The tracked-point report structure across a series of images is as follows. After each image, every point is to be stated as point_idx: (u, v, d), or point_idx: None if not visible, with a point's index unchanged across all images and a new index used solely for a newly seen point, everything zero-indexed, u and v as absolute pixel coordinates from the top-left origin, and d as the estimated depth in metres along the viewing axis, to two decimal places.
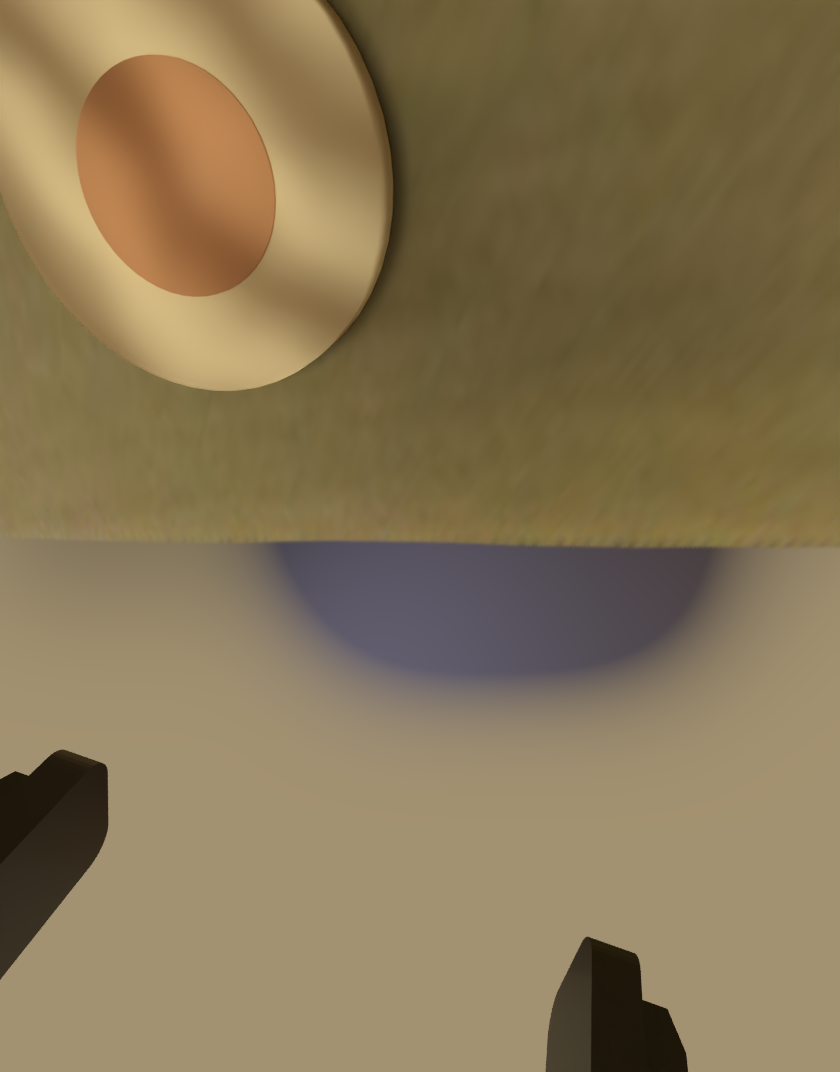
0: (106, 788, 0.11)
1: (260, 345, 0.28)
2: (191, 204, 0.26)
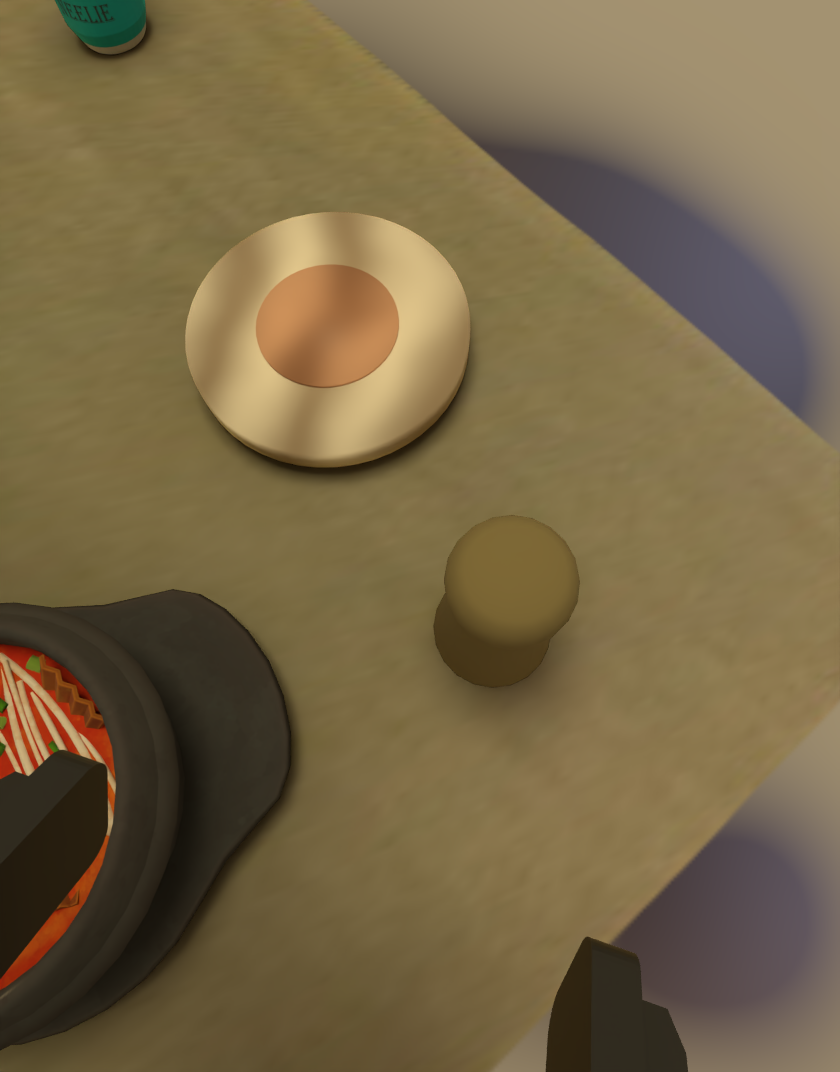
0: (107, 788, 0.11)
1: (391, 247, 0.40)
2: (331, 309, 0.38)
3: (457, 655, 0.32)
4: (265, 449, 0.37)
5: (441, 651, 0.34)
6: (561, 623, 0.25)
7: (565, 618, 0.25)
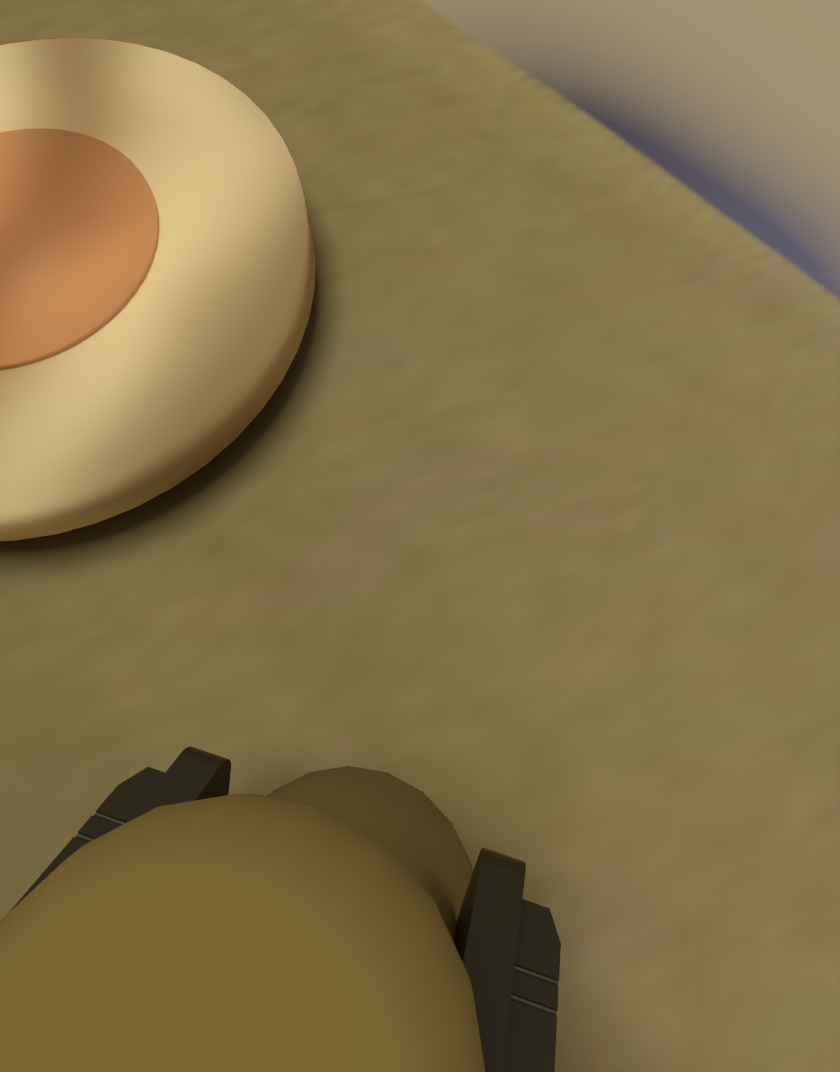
0: (228, 783, 0.12)
1: (161, 95, 0.20)
2: (19, 213, 0.19)
3: None
4: None
5: None
6: None
7: None
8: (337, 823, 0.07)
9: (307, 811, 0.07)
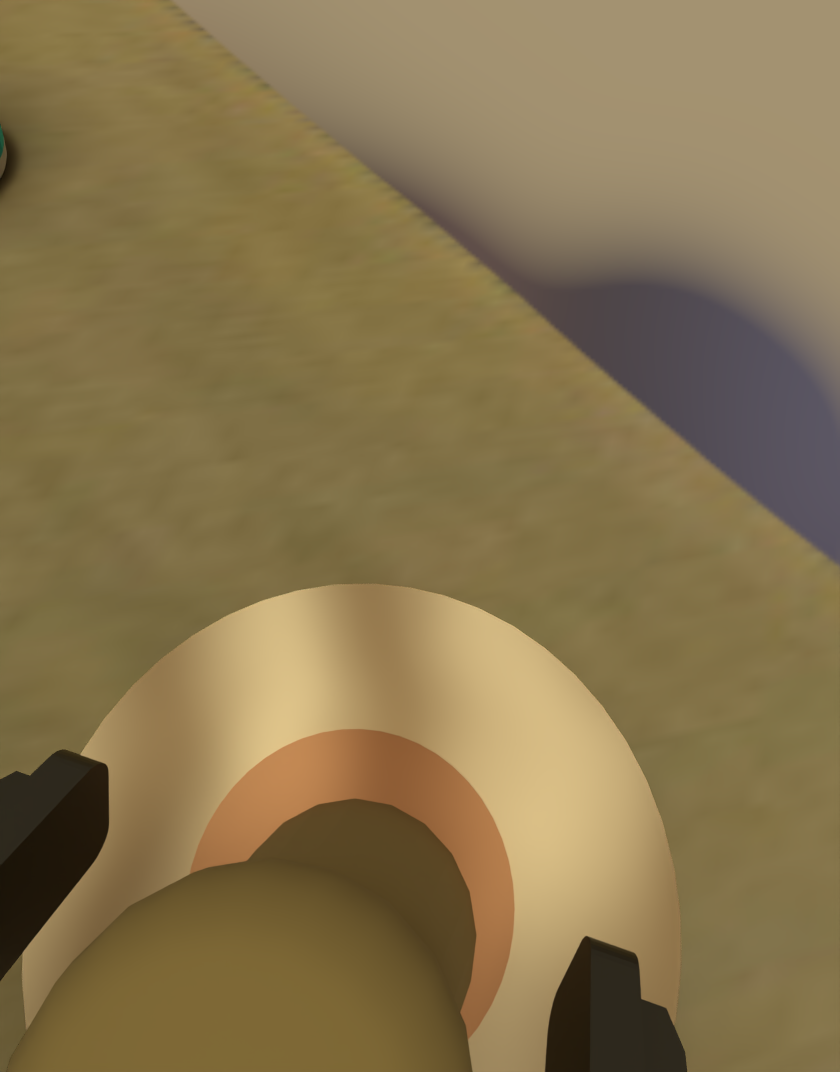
0: (108, 788, 0.11)
1: (481, 673, 0.18)
2: None
3: None
4: None
5: None
6: None
7: None
8: (349, 889, 0.08)
9: (323, 879, 0.08)
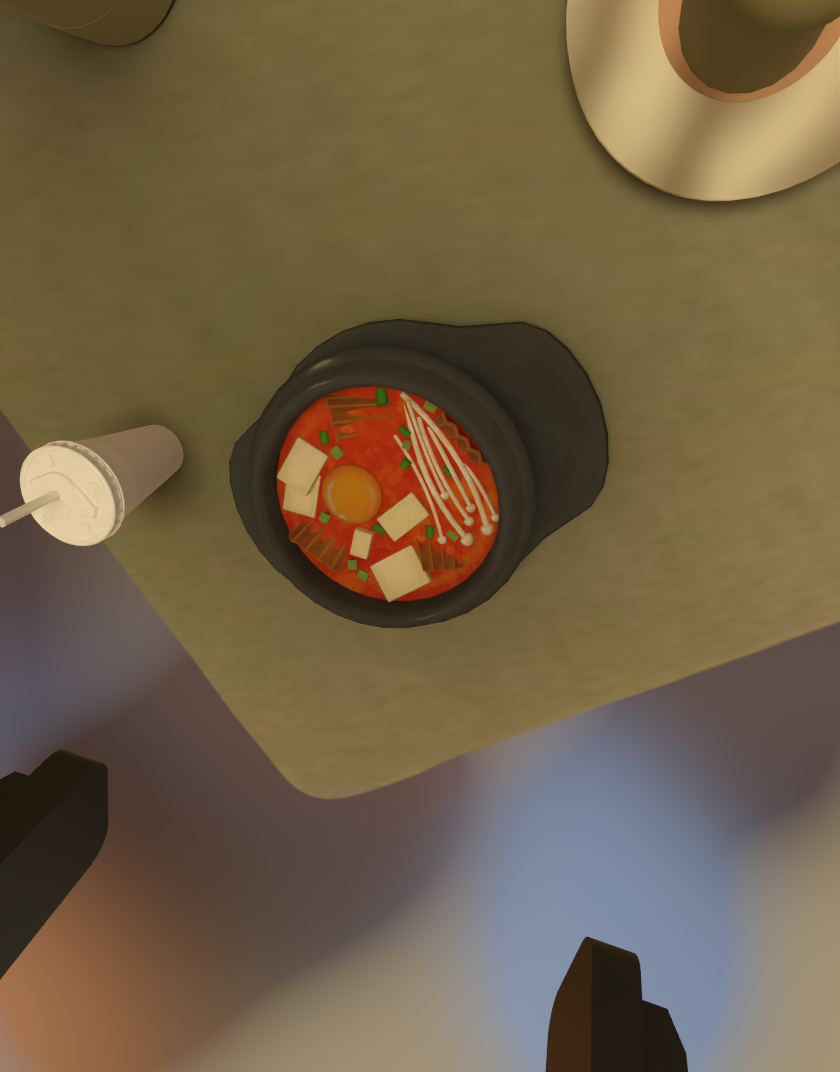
0: (107, 788, 0.11)
1: None
2: None
3: (702, 44, 0.28)
4: (636, 175, 0.33)
5: (682, 38, 0.30)
6: None
7: None
8: None
9: None
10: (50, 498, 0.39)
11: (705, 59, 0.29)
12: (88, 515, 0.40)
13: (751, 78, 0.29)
